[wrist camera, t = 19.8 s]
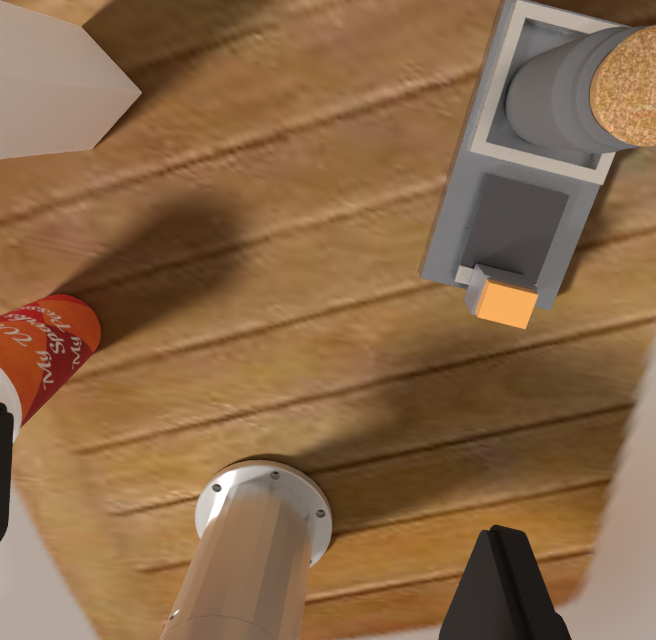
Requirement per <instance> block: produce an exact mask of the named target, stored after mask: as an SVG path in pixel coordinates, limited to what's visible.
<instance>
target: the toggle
mask: <svg viewBox="0 0 656 640" xmlns="http://www.w3.org/2000/svg"><path fill="white" fill-rule="evenodd" d="M537 290H538V288H537V287H536V286H535V285H534V284H533V283H532V282H531V281H530V280H529V279H528V278H527V277H526V276H525V275H521V274H517V273H513V272H509V271H505V270H501V269H497V268H493V267H489V266H485V265H481V264H477V263H476V265H475V268H474V271H473V274H472V277H471V280H470V283H469V286H468V289H467V292H466V295H465V298H464V302H465V304H466V306H467V308H468V309H469V311H470V313H471V314H472V315H475V316H477V317H479V318H483V319H487V320H491V321H494V322H498V323H502V324H506V325H510V326H514V327H518V328H522V329H526V326H527V323H528V321H529V318H530V316H531V313H532V310H533V308H534V305H535V303H536V300H537V297H538V294H537Z"/></svg>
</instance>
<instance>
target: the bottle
mask: <svg viewBox="0 0 656 640" xmlns="http://www.w3.org/2000/svg"><path fill="white" fill-rule="evenodd" d="M505 110H506V116H507V119H508V122H509V124H510V126H511V127H512V129H513V130H514V131H515V133H516V134H517V135H518V136H519V137H521V138H522V139H524V140H525V141H527V142H530V143H532V144H536V145H540V146H546V147H552V148H559V149H565V150H572V151H579V152H587V153H597V154H603V153H613V152H617V151H621V150H624V149H631V148H637V147H641V146H653V145H656V25H653V26H638V27H632V28H631V27H611V28H606V29H603V30H600V31H597V32H594V33H591V34H588V35H586V36H583V37H580V38H578V39H575V40H573V41H571V42H568V43H566V44H563V45H561V46H558V47H556V48H553V49H551V50H548V51H546V52H543V53H541V54H539V55H537V56H535V57H533V58H532V59H530V60H529V61H527V62H526V63H525V64H523V65H522V66H521V67H520V69H519V70H518V71H517V72H516V73H515V75H514V76H513V78H512V80H511V82H510V84H509V86H508V89H507V92H506V98H505Z"/></svg>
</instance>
